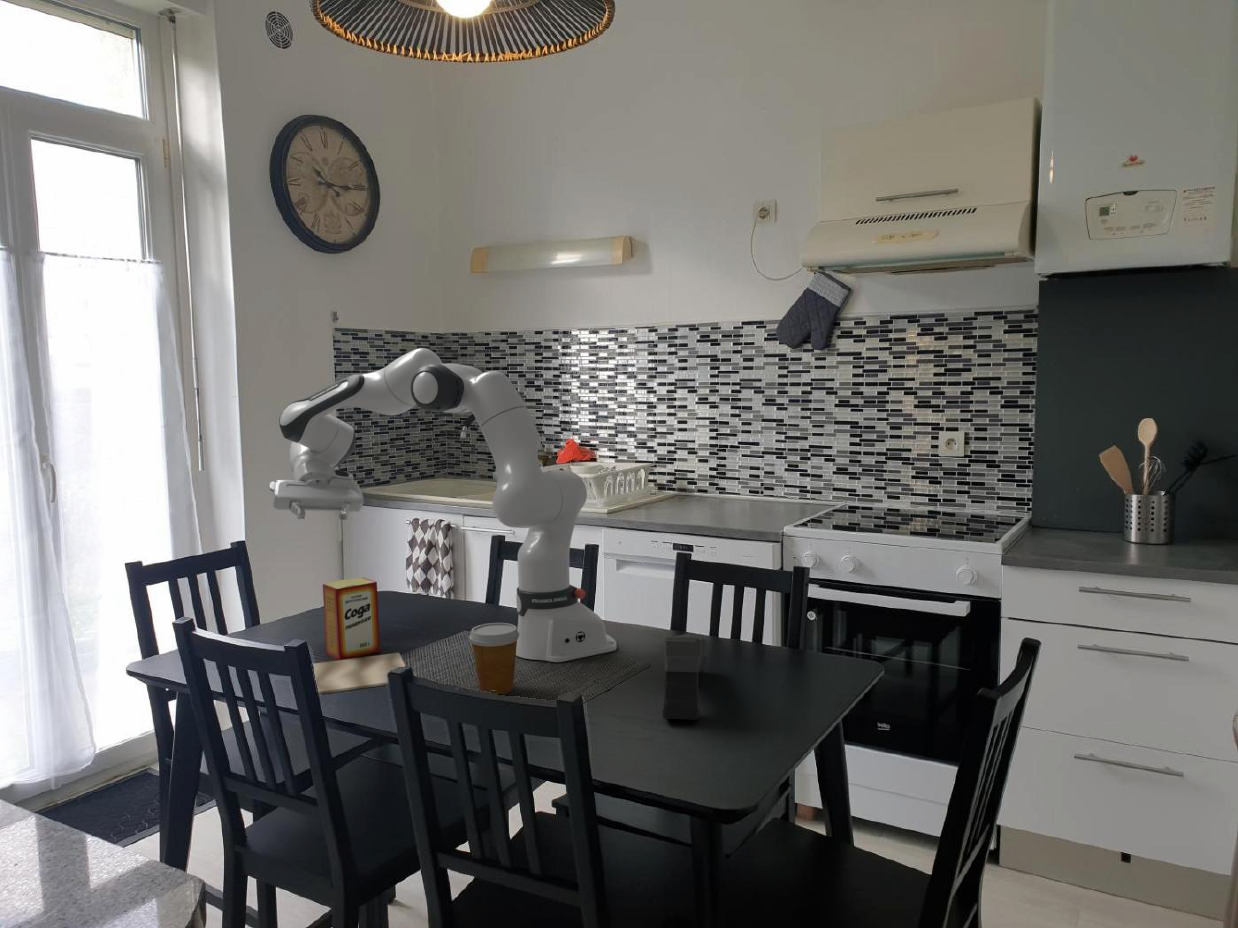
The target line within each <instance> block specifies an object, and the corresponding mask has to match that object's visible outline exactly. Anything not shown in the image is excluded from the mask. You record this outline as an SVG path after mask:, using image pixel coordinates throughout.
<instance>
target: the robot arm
mask: <svg viewBox="0 0 1238 928" xmlns="http://www.w3.org/2000/svg"><path fill="white" fill-rule="evenodd" d="M415 406H418V407H419V408H421V409H422V410H425V411H428V412H432V413H449V414H454V415H455V414H465V413H472V415H473V416H474V418H475V420H476V422H477V424H478V427H479V429H480V431H481V433H482V435H483V438H484V441H485V442H486V445H487V447H488V449H489V451H490V454H491V456H492V459H493V460H494V465H495V469H496V480H497V481H496V482H497V484H496V489H495V490H494V493H493V496H492V508H493V513H494V515H495V517H496V519H497V520H498V521H499V522H500V523H501V524H503V526H506V527H509V528H514V529H515V528H516V529H517V528H518V529H528V531H527V534H526V538H525V539H524V541H523V543H522V544H521V546H520V547H519V549H518V553H517V575H518V578H517V581H518V586H517V588H516V596H515V597H516V598H515V599H516V601H515V602H516V603H515V604H516V612H517V614H518V620H517V631H518V632H519V637H518V640H517V647H516V657H519V658H521V659H522V658H523V659H526V660H527V659H528V660H535V661H536V660H537V661H546V662H553V663H562V662H567V661H573V660H576V659H581V658H587V657H591V656H596V655H600V654H605V653H609V652H613V651H616V650H617V648H618V646H617V642H616V640H615V639H614V638H613V637H612V636H610V635H609V634H607V633H606V626H605V624H604V621H603V619H602V618H601V617H600V616H599V615H598V614H597V613H596V612H595V611H593V610H592V609H590V608H589V607H587V606H586V605H585V604H583V603H582V602H580V601H579V599H580V600H583V599H584V598H585V597H586V591H585V590H584V589H582V588H581V587H576V586H574V585H572V584H570V549H571V548H570V547H571V543H572V536H573V532H574V528H575V524H576V521H577V519H578V517H579V514H580V512H581V510H582V508H583V507H584V506H585V504H586V501H587V498H588V492H587V486H586V484H585V481H584V480H583V478H582V477H581V476H580V475H578V474H577V473H575V472H572V471H568V470H562V469H553V470H548V471H543V470H542V468H541V466H540V461H539V454H538V451H539V450H540V447H541V444H542V439H541V435H540V433H539V431H538V429H537V427H536V424H535V422H534V421H533V419H532V417H531V414H530V412H529V410H528V408H527V406H526V404H525V402H524V400H523V398H522V396H521V395H520V394H519V391H518V390H517V388H516V387H515V386H514V383H513V382H512V381H511V380H510V379H509V378H508V376H507V375H506V374H505V373H503V372H502V371H499V370H489V371H488V370H486V369H484V368H482V367H479V366H477V365H465V364H460V363H443V361H442V360H441V358H440V356H438V354H436V352H434V351H433V350H431V349H428V348H424V347H419V348H416V349H413V350H411V351H409V352H407V353H404V354H403V355H401V356H399V357H397V358H395V360H393V361H392V362H390V363H389V364H388V365H386V366H385V367H383V368H381V369H379V370H376V371H375V370H374V371H373V372H368V373H362V374H360V373H357V374H356V373H355V374H351V375H348V376H346V377H345V378H341V379H340V380H338V381H336V382H334V383H332V384H331V385H328V386H327V387H325V388H323V389H321V390H319V391H317V392H315V393H313V394H311V395H310V396H307V397H305V398H301V399H298V400H295V401H293V402H291V403H288V405H287V406H286V407H285V408H284V409H283V411H282V412H281V414H280V416H279V418H278V419H279V420H278V424H279V429H280V431H281V434H282V436H283V438H284V439H286V440H289V441H290V442H291V444H290V447H289V453H288V456H289V457H288V459H289V466H290V470H291V472H292V479H293V480H292V479H291V480H290V479H275V480H274V481H270V482H269V484H268V486H269V490H270V492H272V507H273V508H275V509H276V510H282V511H283V510H287V511H290V512H291V513H293V515H296V518H297V520H305V517H306V511H316V512H317V511H319V512H320V511H322V512H323V511H324V512H325V511H326V512H339V514H338V518H339V520H340V521H347V520H348V516H349V512H353V513H356V512H357V513H358V512H360V511H361V510H362V509H363V505H364V500H365V499H364V495H363V492H362V489H361V488H360V486H359V484H358V483H357V482H356V481H354V475H353V473H352V472H349V471H344V470H341V469H338V468H336V467H338V466H340V465H341V464H344V462H346V461H347V460H348V459H349V458H350V456H351V455H352V454H353V452H354V450H355V447H356V441H357V440H356V436H357V435H356V432H355V428H354V427H353V426H352V425H350V424H348V423H346V422H345V421H343V420H341V419H340V418H338V417H335V416H334V415H332V414H330V413H332V412H334V411H336V410H338V409H340V408H344V407H352V408H358V409H359V408H360V409H363V410H366V411H370V412H374V413H377V414H379V415H385V416H398V415H400V414H403V413H406V412H408V411H411V409H412V408H414V407H415Z"/></svg>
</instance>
